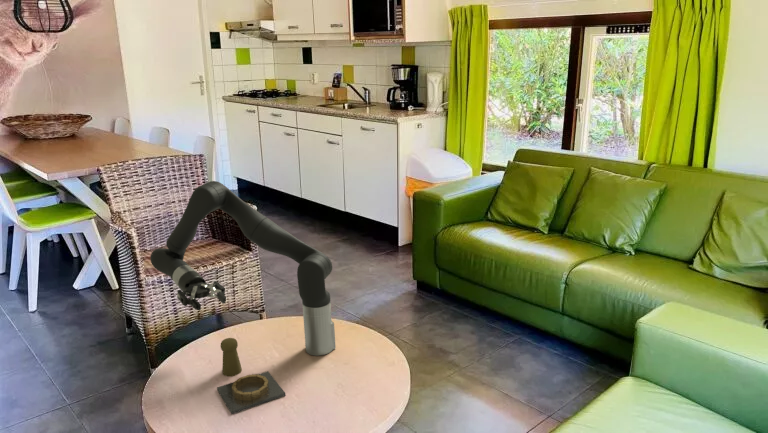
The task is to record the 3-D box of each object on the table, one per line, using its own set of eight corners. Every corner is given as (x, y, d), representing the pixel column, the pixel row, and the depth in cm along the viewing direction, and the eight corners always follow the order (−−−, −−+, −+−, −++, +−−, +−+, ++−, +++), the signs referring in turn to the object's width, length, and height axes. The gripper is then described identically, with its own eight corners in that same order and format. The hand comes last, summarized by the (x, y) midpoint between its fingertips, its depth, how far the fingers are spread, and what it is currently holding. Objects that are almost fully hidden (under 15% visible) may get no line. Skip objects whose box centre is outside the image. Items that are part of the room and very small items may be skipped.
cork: (236, 377, 179) (233, 345, 176) (218, 375, 180) (214, 344, 177) (245, 367, 184) (241, 336, 181) (227, 365, 186) (223, 334, 182)
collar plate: (268, 374, 180) (267, 365, 179) (285, 395, 169) (284, 386, 168) (217, 390, 172) (216, 381, 171) (231, 414, 161) (230, 405, 160)
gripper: (168, 275, 186) (191, 299, 176) (208, 266, 196) (233, 288, 186) (167, 295, 189) (190, 320, 179) (207, 285, 199) (231, 308, 189)
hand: (212, 304), depth 182 cm, fingers open, 8 cm apart
